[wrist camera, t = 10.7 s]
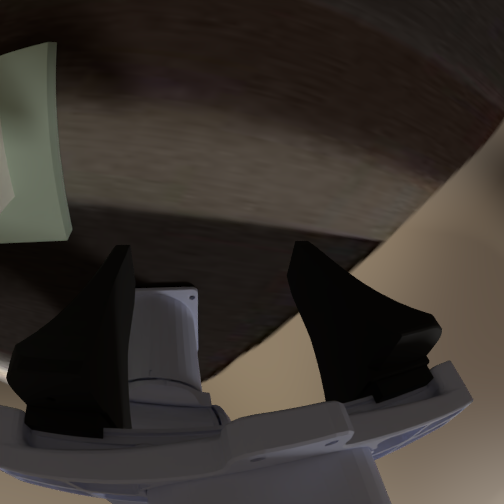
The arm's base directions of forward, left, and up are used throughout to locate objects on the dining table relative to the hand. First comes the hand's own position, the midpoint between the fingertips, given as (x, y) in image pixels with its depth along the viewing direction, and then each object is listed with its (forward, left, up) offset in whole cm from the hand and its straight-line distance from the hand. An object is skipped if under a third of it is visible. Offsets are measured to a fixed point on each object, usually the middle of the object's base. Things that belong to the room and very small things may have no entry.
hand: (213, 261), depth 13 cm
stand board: (+3, +16, -9) cm, 19 cm away
